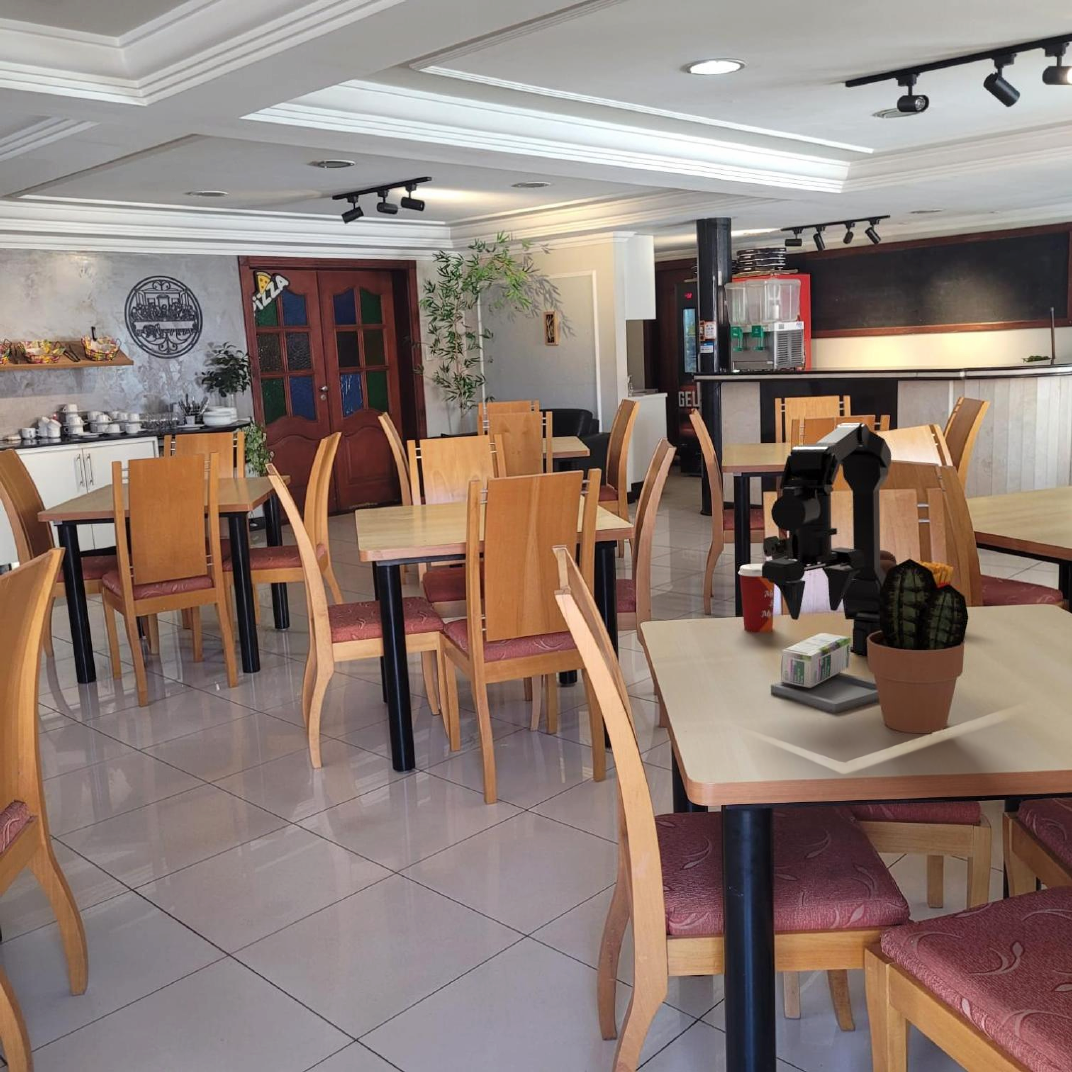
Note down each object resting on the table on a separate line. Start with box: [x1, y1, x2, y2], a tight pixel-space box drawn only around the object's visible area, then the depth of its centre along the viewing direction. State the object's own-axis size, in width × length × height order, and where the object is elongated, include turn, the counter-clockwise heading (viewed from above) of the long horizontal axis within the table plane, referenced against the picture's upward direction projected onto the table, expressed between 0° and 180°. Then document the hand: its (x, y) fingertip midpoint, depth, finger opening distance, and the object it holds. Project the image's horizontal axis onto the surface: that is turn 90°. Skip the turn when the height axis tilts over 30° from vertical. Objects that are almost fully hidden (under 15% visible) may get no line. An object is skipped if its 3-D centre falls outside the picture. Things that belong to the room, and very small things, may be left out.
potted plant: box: [867, 558, 969, 734], centre depth 157 cm, size 14×14×25 cm
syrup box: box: [780, 632, 851, 688], centre depth 181 cm, size 6×6×14 cm
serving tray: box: [770, 672, 880, 714], centre depth 175 cm, size 14×14×2 cm
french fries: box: [914, 560, 954, 588], centre depth 217 cm, size 9×4×13 cm, turn 55°
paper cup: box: [737, 563, 775, 633], centre depth 218 cm, size 8×8×14 cm
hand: (814, 614), depth 176 cm, fingers open, 9 cm apart
